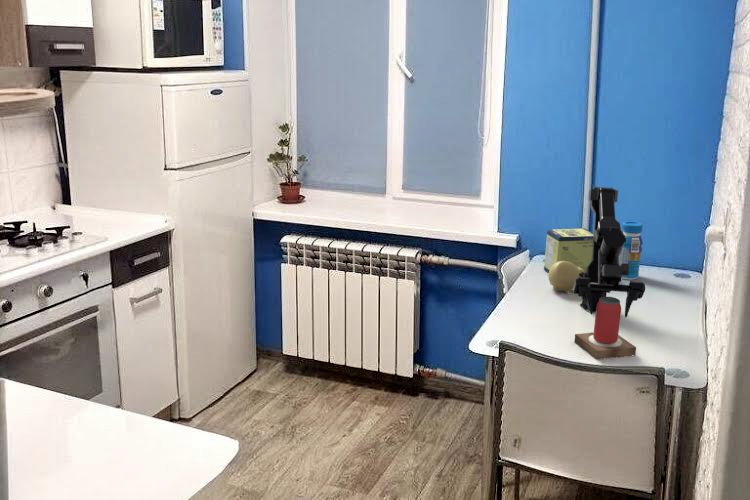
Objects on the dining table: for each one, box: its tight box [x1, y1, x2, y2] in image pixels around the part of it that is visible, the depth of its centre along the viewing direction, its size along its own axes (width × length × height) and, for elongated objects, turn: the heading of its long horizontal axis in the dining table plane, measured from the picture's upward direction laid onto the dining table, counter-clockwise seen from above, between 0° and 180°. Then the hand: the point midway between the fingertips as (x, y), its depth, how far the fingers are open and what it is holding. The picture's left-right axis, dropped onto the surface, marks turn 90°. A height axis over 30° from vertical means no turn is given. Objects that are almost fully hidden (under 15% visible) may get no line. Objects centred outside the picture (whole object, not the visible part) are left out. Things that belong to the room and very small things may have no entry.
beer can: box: [593, 296, 622, 344], centre depth 212 cm, size 7×7×12 cm
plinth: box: [573, 332, 637, 360], centre depth 214 cm, size 12×12×3 cm
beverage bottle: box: [619, 220, 644, 281], centre depth 275 cm, size 8×8×20 cm
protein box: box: [543, 228, 593, 274], centre depth 278 cm, size 10×16×16 cm
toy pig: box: [548, 261, 584, 294], centre depth 260 cm, size 10×12×11 cm
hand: (608, 315), depth 210 cm, fingers open, 9 cm apart
